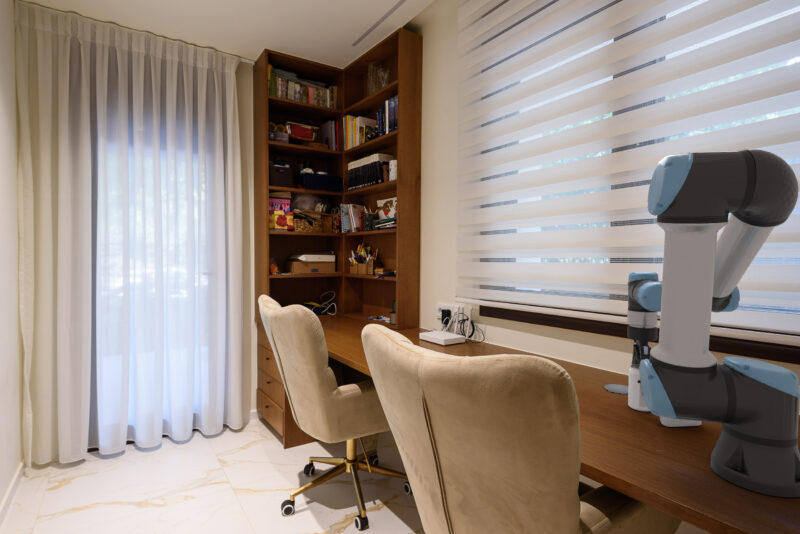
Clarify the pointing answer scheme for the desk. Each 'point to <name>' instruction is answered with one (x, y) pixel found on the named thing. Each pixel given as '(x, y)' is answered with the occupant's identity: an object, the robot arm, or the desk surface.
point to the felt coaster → (617, 388)
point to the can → (634, 389)
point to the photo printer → (678, 422)
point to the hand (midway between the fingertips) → (640, 398)
